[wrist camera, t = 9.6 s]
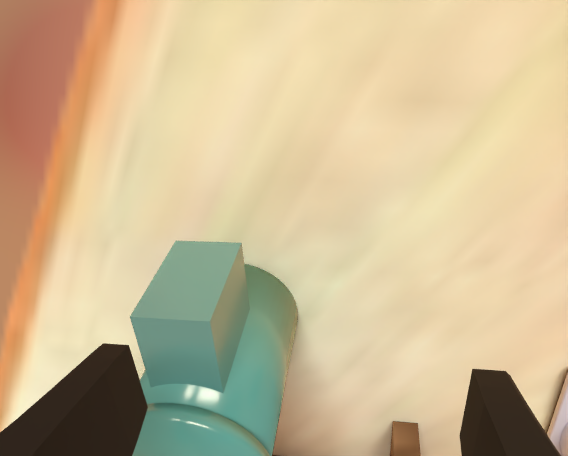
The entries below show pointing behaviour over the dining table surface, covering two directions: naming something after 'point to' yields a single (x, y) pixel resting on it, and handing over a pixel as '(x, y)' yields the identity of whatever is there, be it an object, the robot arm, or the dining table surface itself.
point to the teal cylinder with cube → (212, 353)
